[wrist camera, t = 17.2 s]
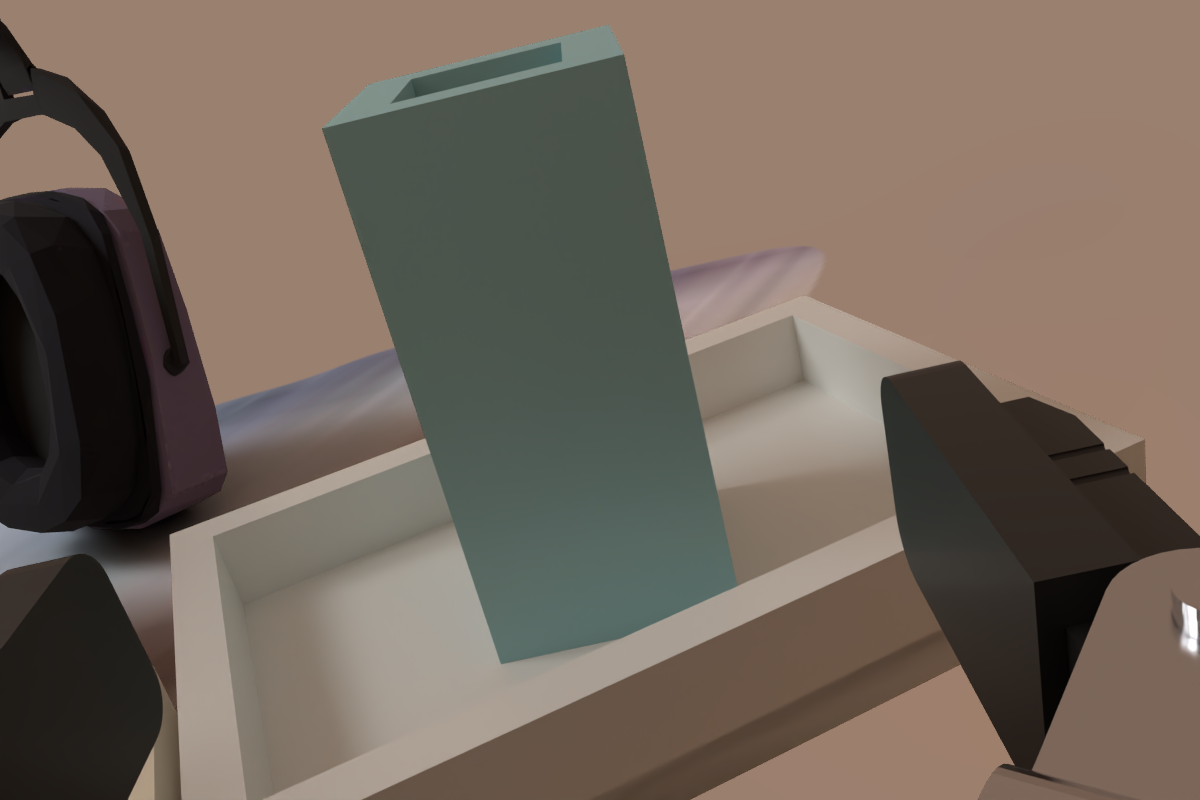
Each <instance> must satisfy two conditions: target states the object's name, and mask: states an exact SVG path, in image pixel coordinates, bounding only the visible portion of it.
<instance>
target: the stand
mask: <svg viewBox="0 0 1200 800" xmlns="http://www.w3.org/2000/svg"><path fill="white" fill-rule="evenodd" d="M152 666H153V665H152ZM153 668H154V666H153ZM154 670H155V668H154ZM155 672H156V670H155ZM156 674H157V672H156ZM157 677H158V680H159V683H160V687H161V692H162V700H163V718H162V725H161V729H160V733H159V735H158V738H157V740H156V742H155V744H154V746H153V748H152V750H151V753H150V755H149V757H148V759H147V761H146V763H145V765H144V767H143V769H142V771H141V773H140V775H139V777H138V780H137V782H136V784H135V786H134V788H133V790H132V792H131V794H130V796H129V798H128V800H182V798H181V776H180V754H179V732H178V714H177V712H176V710H175V708H174V706H173V704H172V702H171V700H170V698H169V696H168V694H167V692H166V690H165V688H164V686H163V684H162V682H161V680H160V678H159V676H158V674H157Z"/></svg>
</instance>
